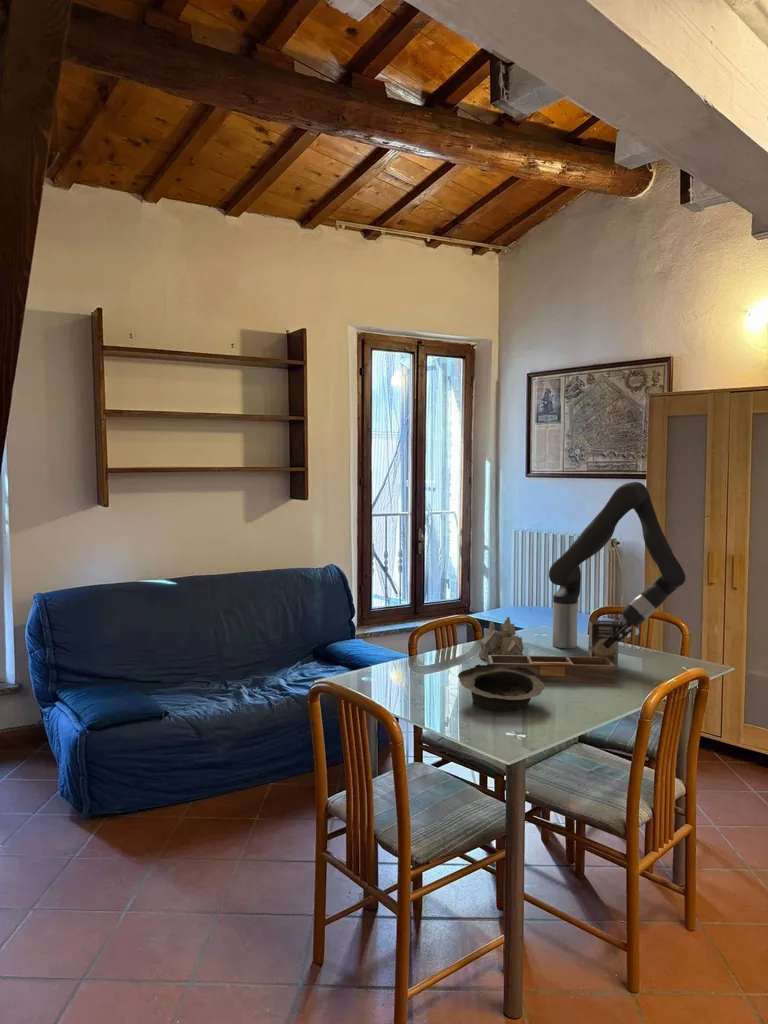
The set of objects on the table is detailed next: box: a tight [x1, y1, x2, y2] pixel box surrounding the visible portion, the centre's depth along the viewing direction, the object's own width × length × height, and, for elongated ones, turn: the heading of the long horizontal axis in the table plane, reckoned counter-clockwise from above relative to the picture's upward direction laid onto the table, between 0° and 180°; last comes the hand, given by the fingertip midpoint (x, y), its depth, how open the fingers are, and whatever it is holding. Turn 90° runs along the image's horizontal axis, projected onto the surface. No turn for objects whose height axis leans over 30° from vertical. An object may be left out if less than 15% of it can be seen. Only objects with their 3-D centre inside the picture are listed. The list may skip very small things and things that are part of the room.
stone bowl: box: [457, 663, 546, 713], centre depth 214 cm, size 25×25×9 cm
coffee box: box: [587, 619, 619, 671], centre depth 252 cm, size 9×6×16 cm
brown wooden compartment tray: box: [487, 655, 616, 684], centre depth 241 cm, size 11×40×6 cm, turn 86°
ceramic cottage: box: [478, 616, 525, 661], centre depth 263 cm, size 16×16×15 cm
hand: (602, 643), depth 252 cm, fingers closed on coffee box, 6 cm apart
